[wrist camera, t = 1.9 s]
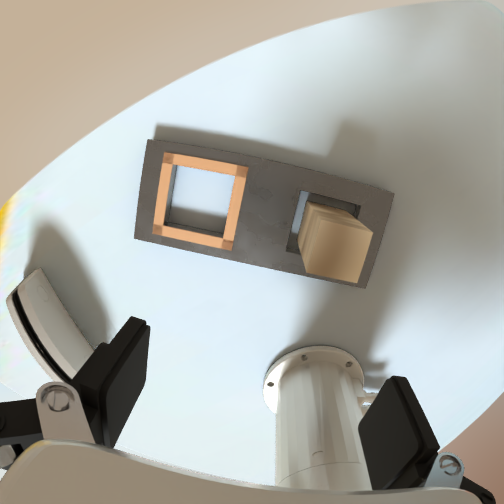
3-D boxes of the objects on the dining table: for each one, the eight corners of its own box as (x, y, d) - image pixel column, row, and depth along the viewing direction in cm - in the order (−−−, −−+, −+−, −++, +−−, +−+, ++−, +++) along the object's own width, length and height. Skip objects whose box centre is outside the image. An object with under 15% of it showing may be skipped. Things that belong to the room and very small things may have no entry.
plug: (345, 210, 30) (373, 232, 22) (334, 248, 31) (357, 283, 23) (306, 200, 30) (321, 219, 22) (296, 239, 31) (306, 272, 23)
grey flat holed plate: (388, 191, 29) (395, 193, 28) (361, 282, 32) (365, 289, 31) (153, 139, 29) (146, 139, 27) (139, 234, 32) (133, 239, 30)
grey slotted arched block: (22, 280, 35) (-12, 300, 26) (44, 263, 36) (12, 280, 26) (86, 376, 39) (71, 415, 30) (109, 363, 40) (98, 402, 30)
